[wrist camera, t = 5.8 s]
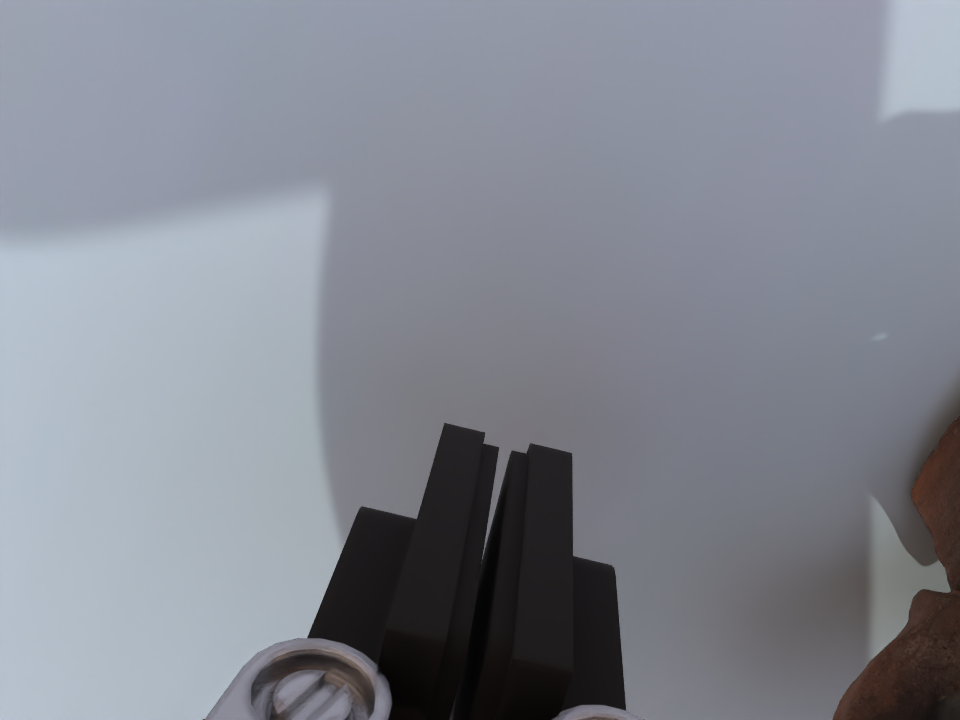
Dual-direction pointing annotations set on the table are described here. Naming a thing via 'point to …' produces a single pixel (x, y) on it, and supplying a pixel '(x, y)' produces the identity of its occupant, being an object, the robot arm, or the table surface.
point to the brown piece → (922, 615)
